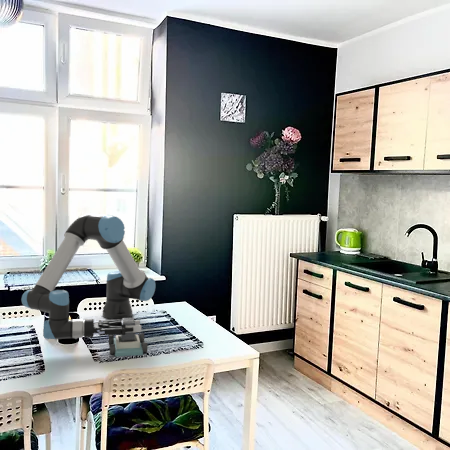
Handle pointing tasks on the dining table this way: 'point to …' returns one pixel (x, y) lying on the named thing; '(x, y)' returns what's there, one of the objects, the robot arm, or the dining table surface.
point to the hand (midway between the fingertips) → (140, 326)
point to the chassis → (127, 346)
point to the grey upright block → (130, 335)
